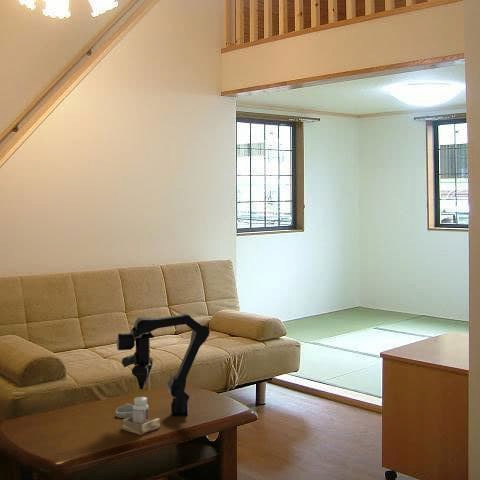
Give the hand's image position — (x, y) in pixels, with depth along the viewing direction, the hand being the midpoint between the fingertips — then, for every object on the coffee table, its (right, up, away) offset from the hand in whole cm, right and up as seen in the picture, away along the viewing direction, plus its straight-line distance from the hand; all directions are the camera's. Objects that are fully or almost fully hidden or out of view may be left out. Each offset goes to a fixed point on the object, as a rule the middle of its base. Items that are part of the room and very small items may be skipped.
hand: (142, 386), depth 279 cm
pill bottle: (+1, -13, -13) cm, 19 cm away
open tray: (+1, -14, -13) cm, 19 cm away
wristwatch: (-7, -13, +2) cm, 15 cm away
